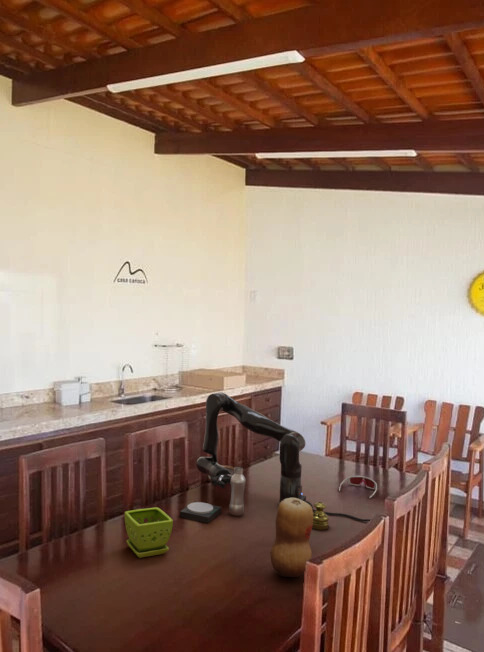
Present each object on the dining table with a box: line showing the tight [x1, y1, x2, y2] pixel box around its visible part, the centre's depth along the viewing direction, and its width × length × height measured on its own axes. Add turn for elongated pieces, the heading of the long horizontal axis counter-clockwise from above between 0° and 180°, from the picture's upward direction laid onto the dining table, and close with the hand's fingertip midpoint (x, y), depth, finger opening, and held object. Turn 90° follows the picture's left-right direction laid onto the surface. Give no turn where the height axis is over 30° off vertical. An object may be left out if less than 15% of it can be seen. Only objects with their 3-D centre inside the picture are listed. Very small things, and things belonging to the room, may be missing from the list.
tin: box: [206, 464, 235, 481], centre depth 272 cm, size 15×3×8 cm, turn 84°
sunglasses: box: [338, 475, 378, 499], centre depth 268 cm, size 17×17×5 cm
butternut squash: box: [269, 498, 314, 578], centre depth 178 cm, size 14×13×25 cm
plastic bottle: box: [228, 466, 247, 517], centre depth 229 cm, size 6×7×20 cm
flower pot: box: [124, 506, 174, 559], centre depth 192 cm, size 14×14×13 cm
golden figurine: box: [312, 501, 330, 531], centre depth 220 cm, size 7×7×10 cm
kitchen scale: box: [179, 500, 223, 524], centre depth 228 cm, size 13×14×3 cm
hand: (233, 485), depth 234 cm, fingers open, 8 cm apart
